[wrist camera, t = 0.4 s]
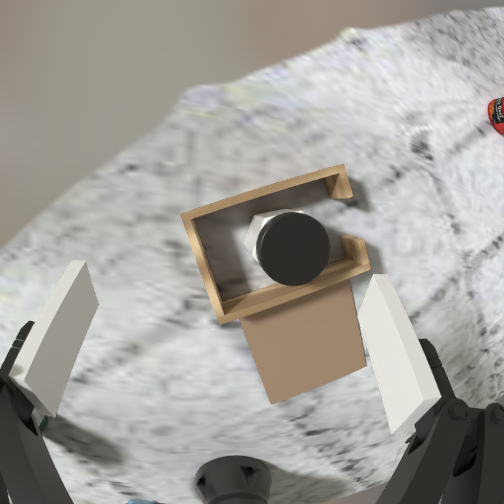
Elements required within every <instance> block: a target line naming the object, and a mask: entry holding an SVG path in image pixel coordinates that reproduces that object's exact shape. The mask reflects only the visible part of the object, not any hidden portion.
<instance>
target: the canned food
mask: <svg viewBox="0 0 504 504" xmlns="http://www.w3.org/2000/svg"><path fill="white" fill-rule="evenodd" d="M488 115H489V119H490V122H491V124H492V125H493V127H494V128H495V130H496V131H497V132H499V133H502V134H504V97H502V98H498V99H495V100H492V101H491V102H490V103H489V105H488Z"/></svg>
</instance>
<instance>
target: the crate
mask: <svg viewBox="0 0 504 504" xmlns="http://www.w3.org/2000/svg"><path fill="white" fill-rule="evenodd" d="M323 177H324V178H325V182H326V185H327V188H328V192H329V195H330V198H350V197H353V194H352V190H351V187H350V183H349V179H348V176H347V173H346V169H345V166H344V164H341V165H337V166H333V167H329V168H326V169H322V170H319V171H315V172H311V173H308V174H304V175H301V176H298V177H294V178H291V179H287V180H284V181H281V182H277V183H274V184H271V185H267V186H264V187H261V188H258V189H255V190H251V191H248V192H245V193H242V194H239V195H236V196H232V197H229V198H226V199H223V200H220V201H217V202H214V203H211V204H208V205H205V206H202V207H199V208H196V209H193V210H190V211H188V212H185V213H182V214H180V215H181V218H182V221H183V224H184V227H185V230H186V233H187V236H188V239H189V241H190V244H191V247H192V250H193V253H194V256H195V259H196V262H197V264H198V267H199V270H200V273H201V276H202V278H203V281H204V284H205V287H206V289H207V292H208V295H209V297H210V300H211V303H212V305H213V308H214V311H215V313H216V316H217V319H218V321H219V324H220V325H221V324H224V323H227V322H230V321H233V320H236V319H239V318H242V317H245V316H248V315H251V314H253V313H256V312H259V311H262V310H265V309H268V308H271V307H273V306H276V305H279V304H282V303H285V302H287V301H290V300H293V299H296V298H298V297H301V296H304V295H306V294H309V293H312V292H314V291H317V290H320V289H322V288H325V287H328V286H330V285H333V284H335V283H338V282H340V281H343V280H346V279H348V278H351V277H353V276H356V275H358V274H361V273H363V272H366V271H368V270H371V268H370V263H369V259H368V254H367V250H366V245H365V241H364V239H362V238H358V237H354V236H351V235H347V234H346V235H343V236H341V240H342V244H343V248H344V252H345V256H346V258H344V259H342V260H339V261H336V262H333V263H331V264H328V265H326V266H325V268H324V270H323V271H322V272H321V274H320V275H319V276H318V277H317V278H315V279H314V280H313V281H311V282H309V283H307V284H304V285H300V286H286V285H282V284H280V283H275V284H273V285H270V286H267V287H264V288H261V289H258V290H255V291H253V292H250V293H247V294H244V295H241V296H238V297H235V298H232V299H229V300H226V301H223V302H222V299H221V297H220V294H219V291H218V288H217V285H216V283H215V280H214V277H213V274H212V271H211V269H210V266H209V263H208V260H207V257H206V254H205V251H204V248H203V246H202V243H201V240H200V237H199V234H198V231H197V228H196V225H195V222H194V219H193V218H196V217H199V216H202V215H205V214H208V213H211V212H214V211H217V210H220V209H223V208H226V207H229V206H232V205H235V204H239V203H242V202H245V201H248V200H251V199H254V198H257V197H260V196H264V195H267V194H270V193H273V192H276V191H280V190H283V189H286V188H290V187H293V186H296V185H300V184H303V183H306V182H310V181H313V180H317V179H320V178H323Z"/></svg>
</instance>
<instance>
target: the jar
mask: <svg viewBox="0 0 504 504" xmlns="http://www.w3.org/2000/svg"><path fill="white" fill-rule="evenodd" d="M244 246H245V248H246V249H247V250H248V251H249V252H250V254H251V255H252V256H253V257H254V258H255V259H256V261H257V262H258V263H259V264H260V265H261V267H262V268H263V270H264V271H265V272H266V273H267V275H268V276H269V277H270V278H271V279H273V280H274V281H275V282H276V283H280V284H282V285H286V286H300V285H304V284H307V283H309V282H311V281H313V280H314V279H315V278H317V277H318V276H319V275H320V274H321V272H322V271H323V270H324V268H325V266H326V264H327V262H328V259H329V255H330V242H329V238H328V235H327V233H326V231H325V229H324V228H323V226H322V225H321V224H320V223H319V222H318V221H317V220H316V219H314V218H312V217H311V216H308V215H306V214H305V213H304V212H303V211H301V210H292V209H279V210H274V211H269V212H265V213H260V214H255V215H253V218H252V221H251V224H250V227H249V230H248V233H247V236H246V239H245V242H244Z"/></svg>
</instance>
